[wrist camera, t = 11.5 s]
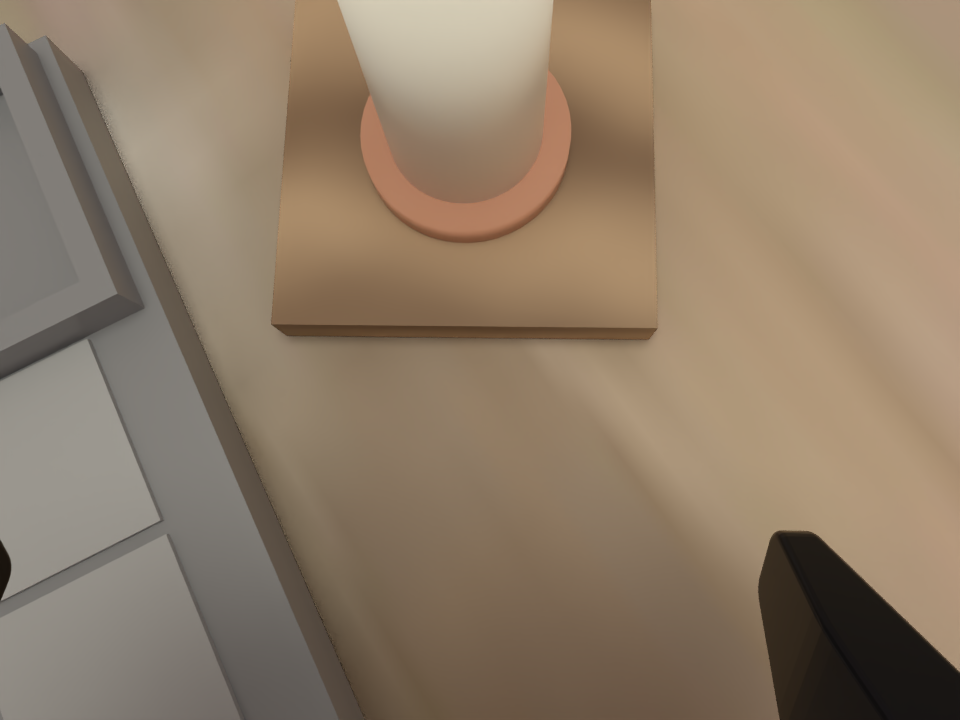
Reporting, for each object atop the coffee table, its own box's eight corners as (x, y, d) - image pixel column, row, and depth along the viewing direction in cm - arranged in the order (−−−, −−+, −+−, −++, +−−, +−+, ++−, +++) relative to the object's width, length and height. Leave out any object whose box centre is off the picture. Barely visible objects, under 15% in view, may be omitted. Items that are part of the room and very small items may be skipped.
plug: (451, 283, 22) (383, 45, 10) (327, 135, 23) (139, -231, 11) (611, 157, 22) (712, -204, 11) (482, 17, 23) (451, -446, 12)
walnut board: (648, 339, 23) (657, 328, 21) (287, 335, 23) (271, 324, 22) (642, 9, 25) (650, -23, 23) (309, 13, 25) (296, -17, 24)
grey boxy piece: (387, 770, 21) (360, 823, 17) (55, 944, 21) (-39, 1033, 17) (82, 71, 25) (13, 4, 22) (-194, 203, 25) (-308, 156, 22)
